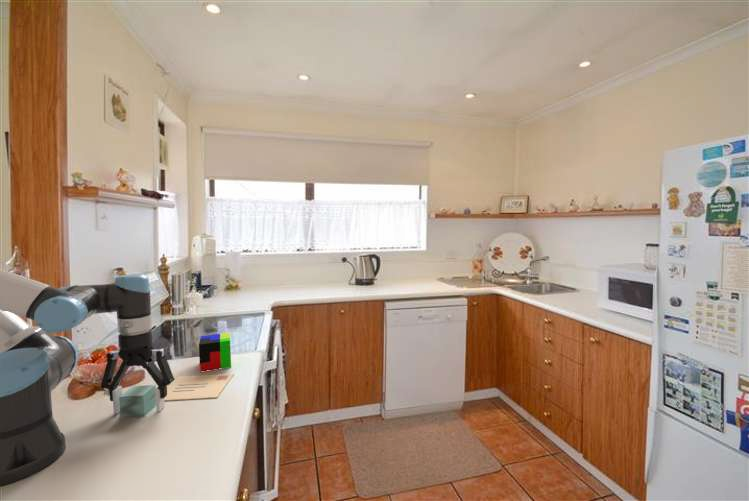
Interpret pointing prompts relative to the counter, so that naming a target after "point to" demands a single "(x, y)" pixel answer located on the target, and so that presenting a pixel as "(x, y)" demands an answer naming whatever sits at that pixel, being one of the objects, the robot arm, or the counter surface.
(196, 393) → the letter card
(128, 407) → the teal block
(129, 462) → the counter surface
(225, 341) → the puzzle toy
